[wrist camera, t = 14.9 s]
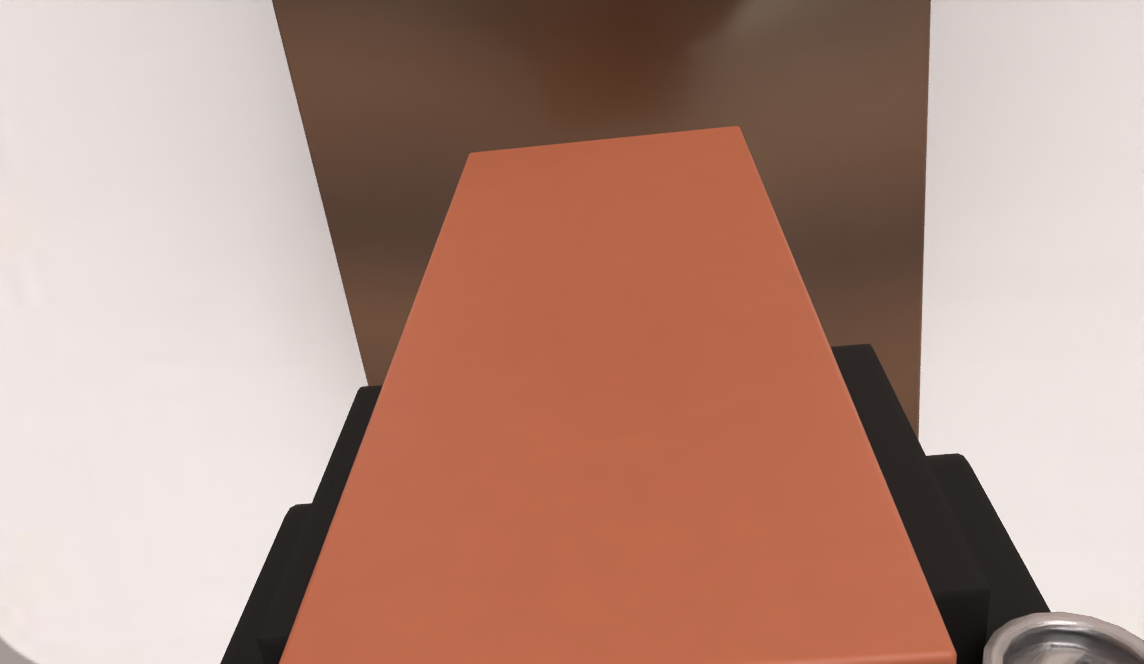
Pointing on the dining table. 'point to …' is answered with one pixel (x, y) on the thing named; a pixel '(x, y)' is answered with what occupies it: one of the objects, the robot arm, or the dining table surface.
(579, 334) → the block
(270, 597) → the robot arm
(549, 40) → the cabinet
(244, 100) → the dining table surface
